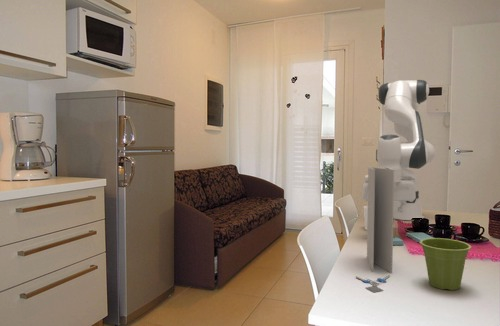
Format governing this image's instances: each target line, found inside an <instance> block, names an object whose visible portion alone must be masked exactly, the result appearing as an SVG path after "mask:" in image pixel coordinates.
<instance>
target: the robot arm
mask: <svg viewBox="0 0 500 326" xmlns="http://www.w3.org/2000/svg"><path fill="white" fill-rule="evenodd" d="M429 94H430V86H429V85H428V82H427V81H426V80H424V79H417V80H415V79H412V80H411V79H410V80H409V79H408V80H402V79H399V80H396V81H394V82H390V83H389V82H386V83H383V84H381V85H380V87H379V88H378V92H377V98H378V102H379V104H381V105H382V106H384V115H385V117H386V118H387V120H389V121H391V122H392V123H394V124H393V125H394V129H393V130H394V132H395V133H396V134H384V135H381V136H379V138H378V142H377V148H376V150H375V160H376V162H377V167H376V168H383V169H385V167H387V168H390V169H393V170H394V208H393V220H394V219H395V220H401V221H412V220H411V219H412V218H422V219H425V215H423V213H422V202H421V201H420V200H419V198H420V191H419V176H418V175H417V173H416V172H414V171H412V170H410V169H415V170H417V169H418V170H419V169H421V168H423V167H424V166H425V165H426V164H427V163H429V164H430V163H431V162H432V161H433V160H434V159H435V156H436V148H435V146H434V145H433V144H432V143H430V142H429V141H427V140H426V139H425V138H424V137H425V136H424V130H423V124H422V120H421V115H420V112H419V109H418V105H420V104H421V103H424V102H425V101H427V99H428V98H429ZM400 136H401V137H403V138H405V139H406V141H401V138H400ZM409 168H410V169H409ZM363 180H364V182H363V183H362V187H361V192H360V193H361V195H360V196H361V200H363V201H364V202H368V174H366V175H364V178H363Z"/></svg>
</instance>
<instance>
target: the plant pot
mask: <svg viewBox="0 0 500 326" xmlns="http://www.w3.org/2000/svg"><path fill="white" fill-rule="evenodd" d="M419 245H421V246H422V251H423V254H424V259H425V265H426V266H425V267H426V271H427V279H428V282H429V284H430V286H432V287H434V288H437V289H440V290H449V291H455V290H459V289H460V288H461V284H462V280H463V274H464V268H465V265H466V259H467V257H468V254H469V250H471V248H472V246H471V245H470V244H469V243H467V242H465V241H460V240H457V239H456V240H455V239H451V238H441V237H433V238H428V239H423V240H421V241H420V244H419Z"/></svg>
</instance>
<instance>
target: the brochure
mask: <svg viewBox="0 0 500 326" xmlns="http://www.w3.org/2000/svg"><path fill="white" fill-rule="evenodd" d="M367 167H368V168H367V169H368V171H367V175H368V201H367V206H368V221H367V230H366V233H367V234H366V237H367V238H366V239H367V241H366V244H367V245H366V259H367V261H368V264H369V266H370V270H371V273H374V264H376V265H377V266H379V267H381V268H382V269H384V270H385V271H387V272H389V273H390V274H393V255H394V254H393V253H394V251H393V250H394V247H393V246H394V245H393V226H394V219H393V208H394V170H393V169H390V168H387V167H385V169H383V168H377V167H372V166H367Z"/></svg>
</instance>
